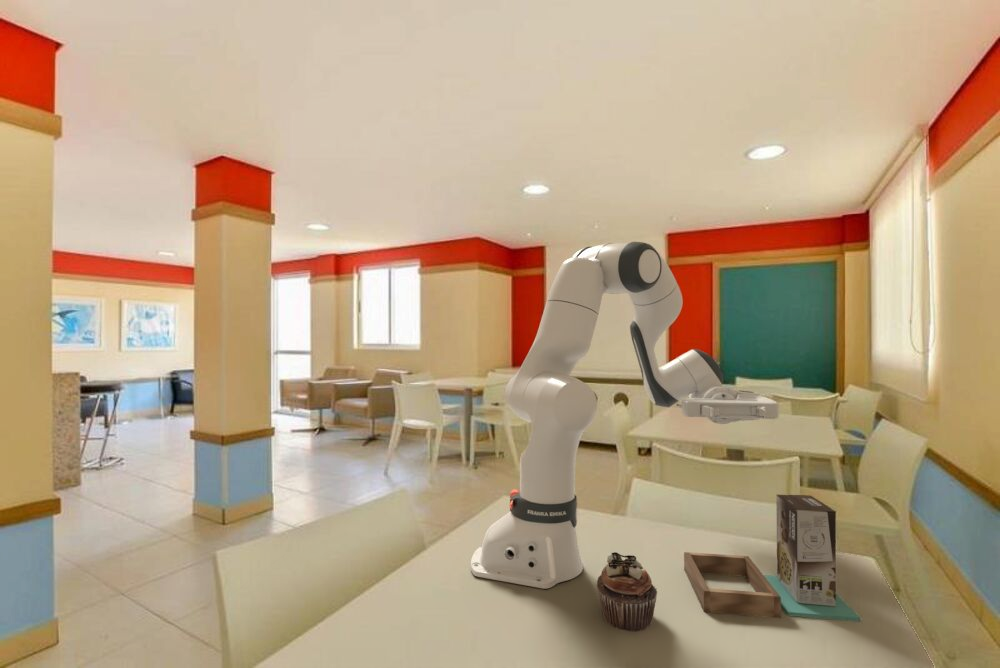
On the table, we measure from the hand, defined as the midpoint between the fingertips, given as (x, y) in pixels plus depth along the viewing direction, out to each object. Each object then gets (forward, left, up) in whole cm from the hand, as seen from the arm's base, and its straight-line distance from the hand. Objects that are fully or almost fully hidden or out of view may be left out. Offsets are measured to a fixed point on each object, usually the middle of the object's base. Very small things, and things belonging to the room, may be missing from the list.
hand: (739, 413), depth 103 cm
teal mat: (+6, -16, -30) cm, 35 cm away
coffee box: (+6, -15, -30) cm, 34 cm away
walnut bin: (-7, -16, -30) cm, 35 cm away
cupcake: (-26, -27, -30) cm, 48 cm away
